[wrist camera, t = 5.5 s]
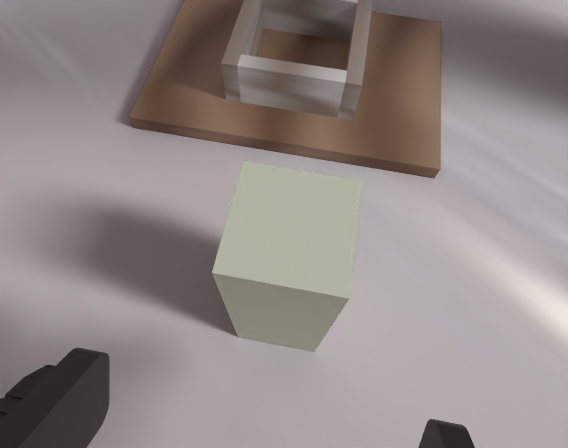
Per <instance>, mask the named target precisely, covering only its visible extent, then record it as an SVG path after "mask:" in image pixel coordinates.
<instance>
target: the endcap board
mask: <svg viewBox="0 0 568 448" xmlns="http://www.w3.org/2000/svg"><path fill="white" fill-rule="evenodd" d="M372 4H373V0H184V2H183V4H182V6H181V8H180V10H179V12H178V14H177V16H176V18H175V21H174V23H173V25H172V27H171V29H170V31H169V33H168V35H167V37H166V40H165V42H164V44H163V46H162V48H161V50H160V52H159V54H158V56H157V59H156V61H155V63H154V65H153V67H152V69H151V71H150V73H149V76H148V78H147V80H146V82H145V84H144V86H143V88H142V90H141V92H140V95H139V97H138V99H137V101H136V103H135V105H134V107H133V109H132V111H131V114H130V116H129V119H130V121H131V123H132V125H133V127H134V128H140V129H145V130H151V131H157V132H163V133H169V134H175V135H181V136H187V137H193V138H199V139H205V140H211V141H217V142H223V143H229V144H235V145H241V146H247V147H253V148H259V149H265V150H271V151H276V152H282V153H288V154H294V155H300V156H306V157H312V158H318V159H324V160H330V161H336V162H342V163H348V164H354V165H360V166H366V167H372V168H378V169H384V170H390V171H396V172H402V173H407V174H413V175H419V176H425V177H431V178H435V176H436V175H437V173H438V172H439V170H440V150H441V22H437V21H431V20H424V19H417V18H410V17H403V16H396V15H390V14H383V13H376V12H372Z"/></svg>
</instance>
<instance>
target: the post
mask: <svg viewBox="0 0 568 448" xmlns="http://www.w3.org/2000/svg"><path fill="white" fill-rule="evenodd" d="M361 189H362V181H359V180H353V179H347V178H341V177H335V176H329V175H324V174H318V173H312V172H306V171H300V170H294V169H288V168H282V167H277V166H271V165H265V164H259V163H253V162H247V161H243V164H242V167H241V171H240V174H239V178H238V181H237V185H236V188H235V192H234V196H233V199H232V203H231V206H230V210H229V213H228V217H227V220H226V224H225V227H224V231H223V235H222V238H221V242H220V245H219V249H218V252H217V256H216V259H215V263H214V266H213V270H212V275H213V277H214V279H215V282H216V284H217V287H218V289H219V292H220V294H221V297H222V299H223V302H224V304H225V306H226V309H227V311H228V314H229V316H230V319H231V321H232V324H233V326H234V328H235V331H236V333H237V336H238V337H240V338H245V339H251V340H256V341H261V342H266V343H271V344H276V345H281V346H286V347H291V348H297V349H302V350H307V351H312V352H315V350H316V349H317V347H318V345H319V344H320V342H321V341H322V339H323V338H324V336H325V335H326V333H327V332H328V330H329V329H330V327H331V326H332V324H333V323H334V321H335V320H336V318H337V317H338V315H339V314H340V312H341V311H342V309H343V307H344V306H345V304H346V303H347V301H348V300H349V298H350V289H351V280H352V271H353V262H354V253H355V244H356V235H357V225H358V216H359V207H360V198H361Z"/></svg>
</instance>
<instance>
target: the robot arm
mask: <svg viewBox="0 0 568 448" xmlns="http://www.w3.org/2000/svg"><path fill="white" fill-rule="evenodd" d="M108 406H109V356H108V354H107V353H103V352H98V351H92V350H87V349H82V348H75V349H73V350H72V351H71V352H70V353H69V354H68V355H67V356H66V357H64V358H63V359H62V360H61V361H60V362H59V363H58V364H57V365H56V366H52V365H46V366H44V367H42V368H41V369H39V370H37V371H35V372H33V373H31V374H29V375H28V376H26V377H24V378H23V379H22V380H21V381H20V382H19V383H17V384H16V385H15V386H14V387H13V388H12V389H11V390H10V391H9V392H8V393H7V394H6V395H5V397H4V398H1V399H0V448H87V446H88V445H89V443H90V442H91V440H92V439H93V437H94V436H95V434H96V433H97V432H98V430H99V429H100V427H101V425H102V423H103V421H104V419H105V416H106V414H107V410H108ZM419 448H475V447H474V445H473V442H472V440H471V437H470V435H469V433H468V431H467V429H466V427H464V426H463V425H459V424H454V423H449V422H444V421H439V420H434V419H430V420H429V421H428V422H427V425H426V427H425V430H424V433H423V436H422V439H421V442H420V445H419Z"/></svg>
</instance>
